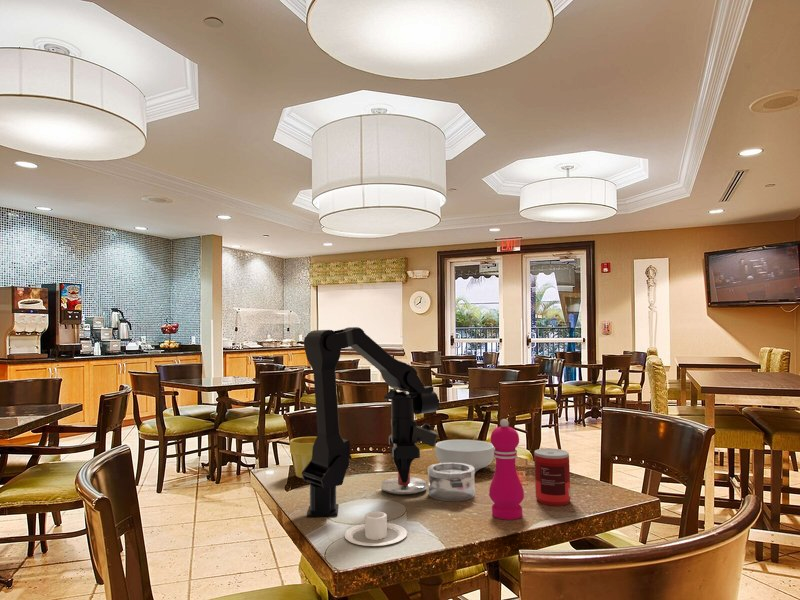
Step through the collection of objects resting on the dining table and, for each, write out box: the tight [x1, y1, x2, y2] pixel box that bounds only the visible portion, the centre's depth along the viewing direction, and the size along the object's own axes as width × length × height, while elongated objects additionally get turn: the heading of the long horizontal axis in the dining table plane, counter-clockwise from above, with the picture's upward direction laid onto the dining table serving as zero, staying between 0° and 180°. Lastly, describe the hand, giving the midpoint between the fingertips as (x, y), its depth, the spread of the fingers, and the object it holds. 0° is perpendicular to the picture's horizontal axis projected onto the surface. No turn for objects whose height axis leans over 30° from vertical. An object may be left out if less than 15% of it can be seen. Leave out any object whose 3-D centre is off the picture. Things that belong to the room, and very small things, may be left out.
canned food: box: [533, 447, 571, 507], centre depth 122 cm, size 8×8×11 cm
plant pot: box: [289, 436, 317, 479], centre depth 148 cm, size 10×10×10 cm
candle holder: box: [344, 511, 408, 547], centre depth 102 cm, size 12×12×4 cm
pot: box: [427, 462, 476, 502], centre depth 128 cm, size 16×11×6 cm
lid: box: [381, 469, 428, 495], centre depth 132 cm, size 11×11×6 cm
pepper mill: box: [488, 418, 525, 521], centre depth 113 cm, size 7×7×20 cm
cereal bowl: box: [434, 439, 495, 473], centre depth 151 cm, size 17×17×7 cm
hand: (403, 480), depth 132 cm, fingers open, 4 cm apart
